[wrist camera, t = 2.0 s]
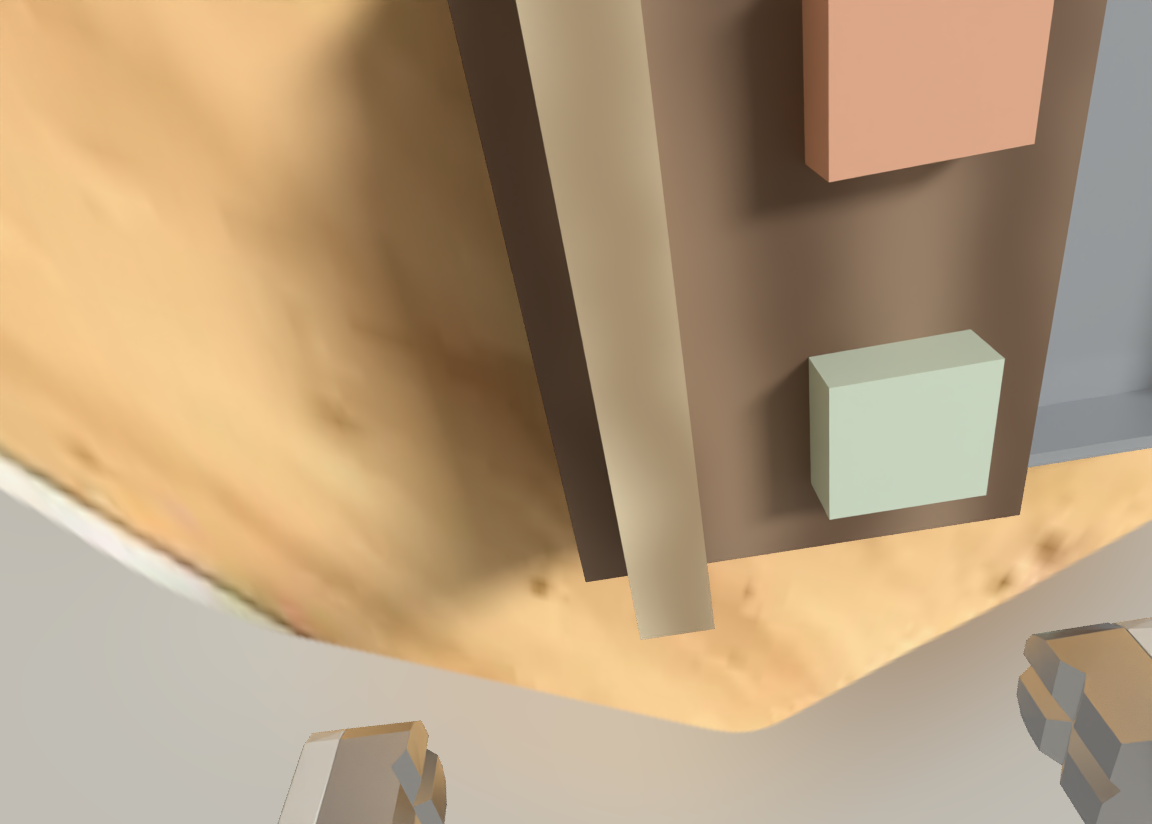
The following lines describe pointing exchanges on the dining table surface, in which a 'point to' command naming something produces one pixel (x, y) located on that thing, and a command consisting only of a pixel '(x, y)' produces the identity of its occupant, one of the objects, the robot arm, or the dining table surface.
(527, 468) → the dining table surface
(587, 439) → the walnut platform
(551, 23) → the bar
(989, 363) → the sage tile
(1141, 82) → the box
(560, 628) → the dining table surface
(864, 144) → the terracotta tile
